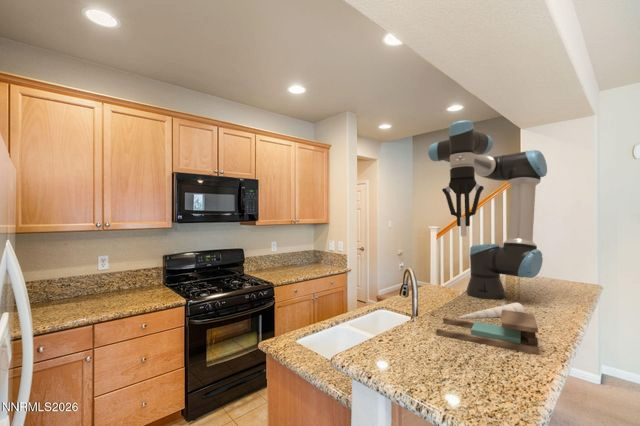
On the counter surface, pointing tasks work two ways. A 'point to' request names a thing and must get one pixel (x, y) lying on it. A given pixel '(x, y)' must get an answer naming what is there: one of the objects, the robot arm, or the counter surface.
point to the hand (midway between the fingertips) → (463, 236)
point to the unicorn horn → (495, 311)
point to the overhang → (509, 320)
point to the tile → (496, 332)
